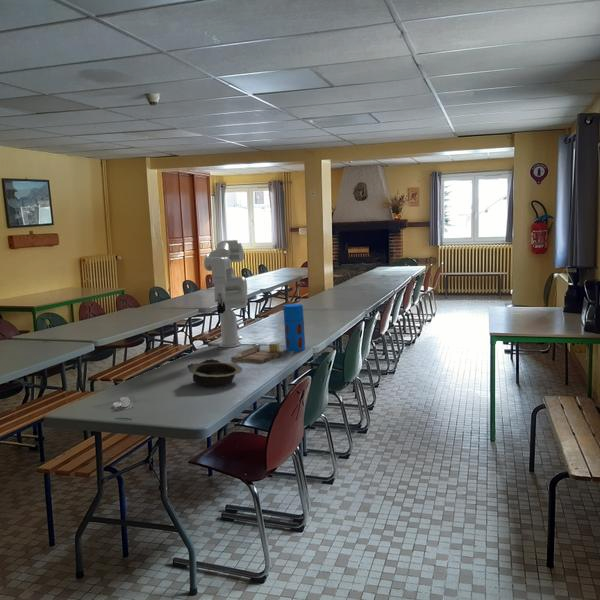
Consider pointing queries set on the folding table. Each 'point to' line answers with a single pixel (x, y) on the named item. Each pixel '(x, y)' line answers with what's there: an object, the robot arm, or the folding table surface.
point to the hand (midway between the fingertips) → (221, 312)
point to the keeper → (274, 347)
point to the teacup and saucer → (122, 402)
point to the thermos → (294, 327)
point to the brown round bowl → (213, 373)
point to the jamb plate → (258, 356)
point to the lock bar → (248, 350)
